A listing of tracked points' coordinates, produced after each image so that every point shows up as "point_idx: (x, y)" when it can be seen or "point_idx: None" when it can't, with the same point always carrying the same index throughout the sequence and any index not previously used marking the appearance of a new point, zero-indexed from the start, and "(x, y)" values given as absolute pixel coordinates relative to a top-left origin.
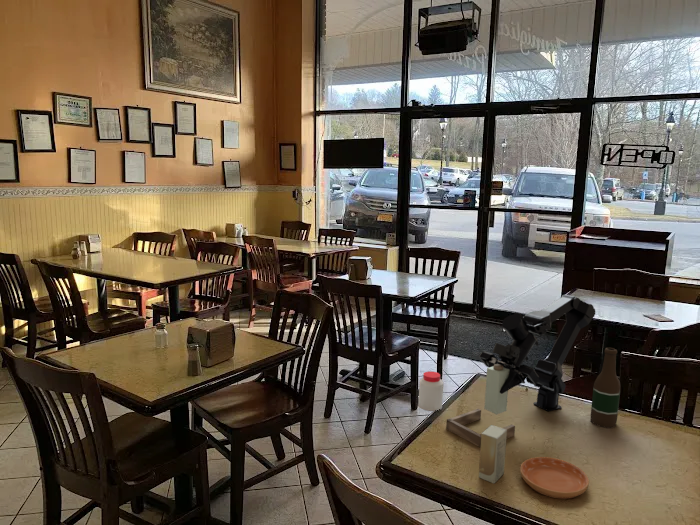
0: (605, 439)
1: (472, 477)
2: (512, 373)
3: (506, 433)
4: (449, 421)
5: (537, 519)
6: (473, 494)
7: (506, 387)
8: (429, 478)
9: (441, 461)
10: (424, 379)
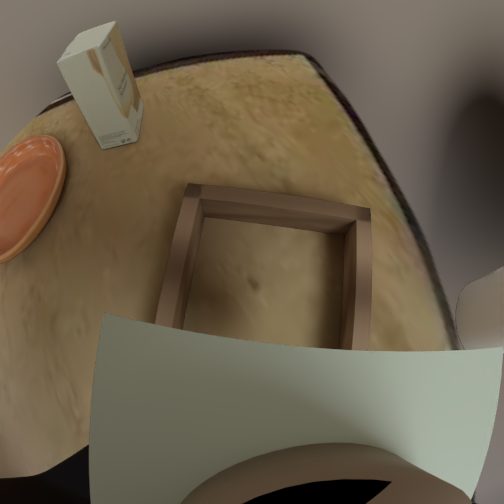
0: None
1: (154, 99)
2: (10, 497)
3: (60, 69)
4: (355, 207)
5: (44, 109)
6: (134, 76)
7: None
8: (218, 58)
9: (238, 95)
10: None
